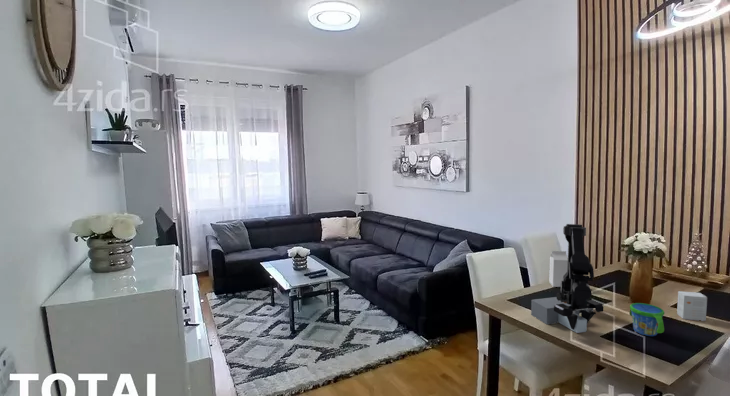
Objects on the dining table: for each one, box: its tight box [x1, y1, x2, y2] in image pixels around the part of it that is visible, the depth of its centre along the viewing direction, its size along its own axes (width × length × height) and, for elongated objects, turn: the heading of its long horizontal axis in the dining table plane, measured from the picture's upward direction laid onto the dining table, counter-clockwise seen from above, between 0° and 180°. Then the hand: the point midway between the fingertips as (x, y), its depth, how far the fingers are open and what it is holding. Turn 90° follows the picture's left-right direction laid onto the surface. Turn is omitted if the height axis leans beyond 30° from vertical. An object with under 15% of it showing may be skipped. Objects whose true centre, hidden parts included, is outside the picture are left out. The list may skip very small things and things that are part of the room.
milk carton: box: [548, 250, 568, 288], centre depth 199 cm, size 7×7×19 cm
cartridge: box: [558, 313, 588, 334], centre depth 154 cm, size 4×19×5 cm, turn 12°
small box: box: [676, 290, 708, 322], centre depth 156 cm, size 8×6×10 cm
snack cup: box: [629, 302, 665, 337], centre depth 144 cm, size 16×10×10 cm
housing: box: [530, 296, 581, 325], centre depth 159 cm, size 16×10×7 cm, turn 102°
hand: (577, 328), depth 147 cm, fingers closed on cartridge, 4 cm apart
